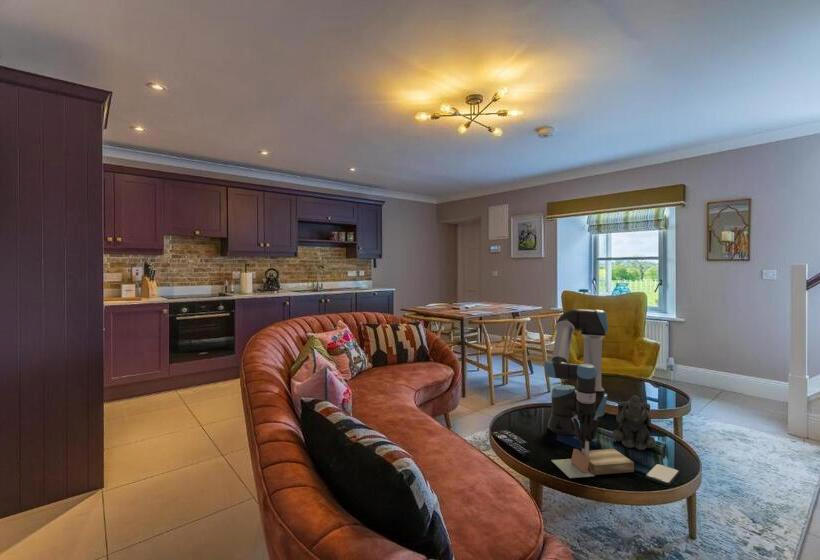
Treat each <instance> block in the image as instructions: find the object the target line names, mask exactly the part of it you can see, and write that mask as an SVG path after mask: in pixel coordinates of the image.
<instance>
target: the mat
mask: <svg viewBox="0 0 820 560" xmlns="http://www.w3.org/2000/svg"><path fill="white" fill-rule="evenodd" d="M571 459H572V458H565V459H562V458H561V459H551V462H552V463H553V464H554V465H555V466H556V468H558V469H559V470H560V471H561V472H563V474H564V475H566V477H568V478H569V479H576V478H590V477H595V475H594V474H593V473H592V472H591V471H590V470H588V471H587V473H585V472H582V471H581V470H580V469H578V468H577V467H576V466H575V465H574V464H573V463H571Z"/></svg>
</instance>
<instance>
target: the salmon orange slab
mask: <svg viewBox="0 0 820 560" xmlns="http://www.w3.org/2000/svg"><path fill="white" fill-rule="evenodd" d="M581 451H582V450H579V449H578V448H573V450H572V453H571V454H572V455H571V458H570V459H571V463H573V464H574V465H575V466H576V467H577V468H578V469H580V470H581V471H582V472H585V473H587V471H589V470H588V466H589V461H590V458H588V457H587V456H586V455H584V454H583V453H582V452H581Z"/></svg>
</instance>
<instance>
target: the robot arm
mask: <svg viewBox="0 0 820 560" xmlns="http://www.w3.org/2000/svg"><path fill="white" fill-rule="evenodd" d="M608 323H609V322H608V316H607V312H606V311H605V310H602V309H590V308H589V309H587V308H586V309H585V308H584V309H583V308H572V309H568V310H566V311H565V312H564V313H562V314H561V315H560V316H559V317H558V318H557V321H556V323H555V330H556V334H555V339H554V344H553V349H552V355H551V359H550V360H547V361H545V365H544V375H545V376H546V377H548V378H553V379H559V380H567V381H568V380H569V381H576V387H575V386H574V385H571V384H560V385H555V386H553V388H552V389H551V394H550V395H551V397H550V398H551V414H550V417H549V420H548V422H547V429H548V428H549V429H550V430H551V431H552V433H555V434H556V433H557V435H561V436H574V435H575V438H576V439H577V440H579V441H580V446H579V447H580V448H581V451H582V453H583V454H584V455H586V456H587V457H589V450H590V449H591V443H592V442H593V440H596V435H597V431H598V428H599V423H600V421H601V420H602V418H601V417H603V416H604V415H605V411H606V406H607V400H608V393H606V392H605V389H604V388H603V386H602V366H603V365H602V361H603V359H602V357H603V356H602V355H603V354H602V353H603V350H602V349H603V339H604V338H606V334H608V333H609V324H608ZM575 331H577V332H580V335H581V336H582V337H583V363H571V362H569V359H570V353H571V352H570V350H571V344H572V337H573V334H574V333H575ZM549 429H548V430H549ZM550 430H549V431H550ZM551 431H550V432H551Z"/></svg>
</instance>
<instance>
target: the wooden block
mask: <svg viewBox="0 0 820 560" xmlns="http://www.w3.org/2000/svg"><path fill="white" fill-rule="evenodd" d="M580 451H581V452H582V450H580ZM588 458H590V461H589V466H588V471H590V472H591V473H592V474H593V475H594V476H596V475H598V476H599V475H611V474H623V473H633V472H635V462H634V461H633V460H631V459H630V458H628V457H627V456H625V455H624V454H622V453H621V452H620V451H618V450H616V449H615V448H605V449H593V450H592V449H591V450H590V449H589V457H588Z"/></svg>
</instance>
